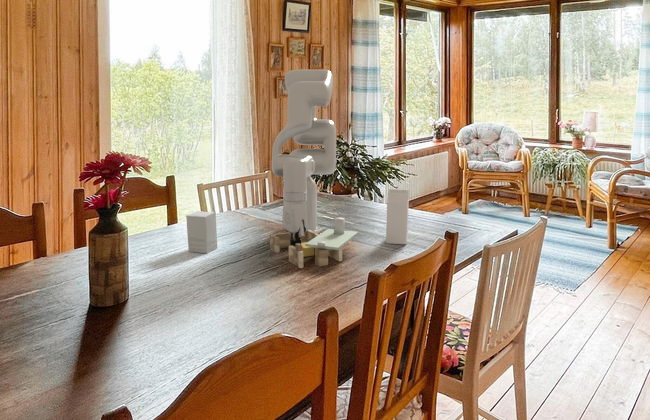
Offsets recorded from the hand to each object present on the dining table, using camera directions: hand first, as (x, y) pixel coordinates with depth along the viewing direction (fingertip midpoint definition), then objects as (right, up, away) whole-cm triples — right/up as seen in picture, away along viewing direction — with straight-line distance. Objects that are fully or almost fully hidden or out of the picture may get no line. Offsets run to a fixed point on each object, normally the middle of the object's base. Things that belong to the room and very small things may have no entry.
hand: (295, 250), depth 182 cm
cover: (+12, +4, -2) cm, 13 cm away
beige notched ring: (+3, -1, 0) cm, 4 cm away
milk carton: (+35, +2, +16) cm, 39 cm away
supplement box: (-32, 0, +6) cm, 32 cm away
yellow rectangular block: (+3, -1, +2) cm, 4 cm away
